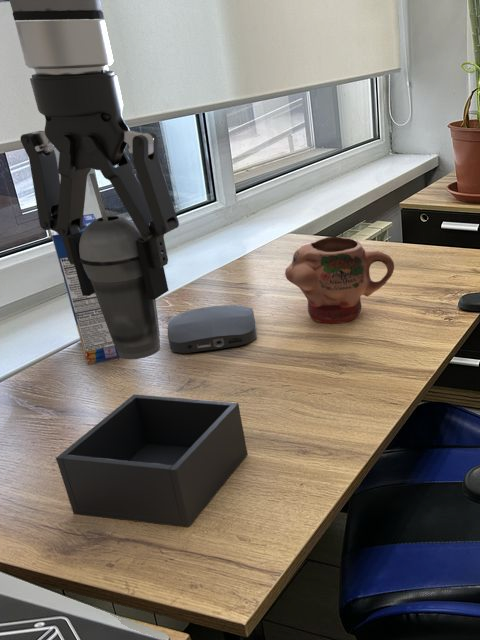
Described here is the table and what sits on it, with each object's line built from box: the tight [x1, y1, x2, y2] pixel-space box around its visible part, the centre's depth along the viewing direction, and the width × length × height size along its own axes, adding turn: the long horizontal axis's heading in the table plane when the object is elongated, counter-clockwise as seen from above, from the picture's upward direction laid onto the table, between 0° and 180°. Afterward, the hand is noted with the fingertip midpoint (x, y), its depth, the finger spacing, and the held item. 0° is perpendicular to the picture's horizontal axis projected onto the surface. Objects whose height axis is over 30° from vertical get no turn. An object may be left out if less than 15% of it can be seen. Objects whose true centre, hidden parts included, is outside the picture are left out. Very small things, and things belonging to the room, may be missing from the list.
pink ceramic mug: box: [284, 235, 395, 324], centre depth 132 cm, size 20×12×14 cm, turn 103°
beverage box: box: [49, 213, 121, 365], centre depth 118 cm, size 7×11×22 cm, turn 32°
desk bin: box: [55, 394, 248, 528], centre depth 85 cm, size 15×15×8 cm
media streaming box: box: [167, 304, 257, 354], centre depth 126 cm, size 15×15×3 cm
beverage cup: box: [79, 172, 162, 360], centre depth 77 cm, size 7×7×20 cm
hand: (125, 292), depth 78 cm, fingers closed on beverage cup, 7 cm apart
